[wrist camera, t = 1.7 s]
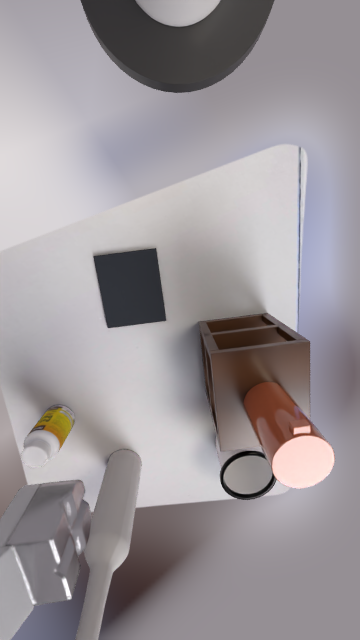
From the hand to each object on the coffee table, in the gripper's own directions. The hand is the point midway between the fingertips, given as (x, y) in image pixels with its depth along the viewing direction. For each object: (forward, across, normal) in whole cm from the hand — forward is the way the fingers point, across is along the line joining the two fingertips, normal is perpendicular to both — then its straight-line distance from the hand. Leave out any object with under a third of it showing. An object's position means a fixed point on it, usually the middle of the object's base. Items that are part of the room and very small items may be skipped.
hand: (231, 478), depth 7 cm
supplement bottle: (+40, +25, +21) cm, 51 cm away
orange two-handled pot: (+24, -9, +14) cm, 29 cm away
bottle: (+40, +15, +33) cm, 54 cm away
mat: (+39, +8, -1) cm, 40 cm away
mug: (+40, -7, +32) cm, 51 cm away
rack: (+39, -8, +13) cm, 42 cm away
